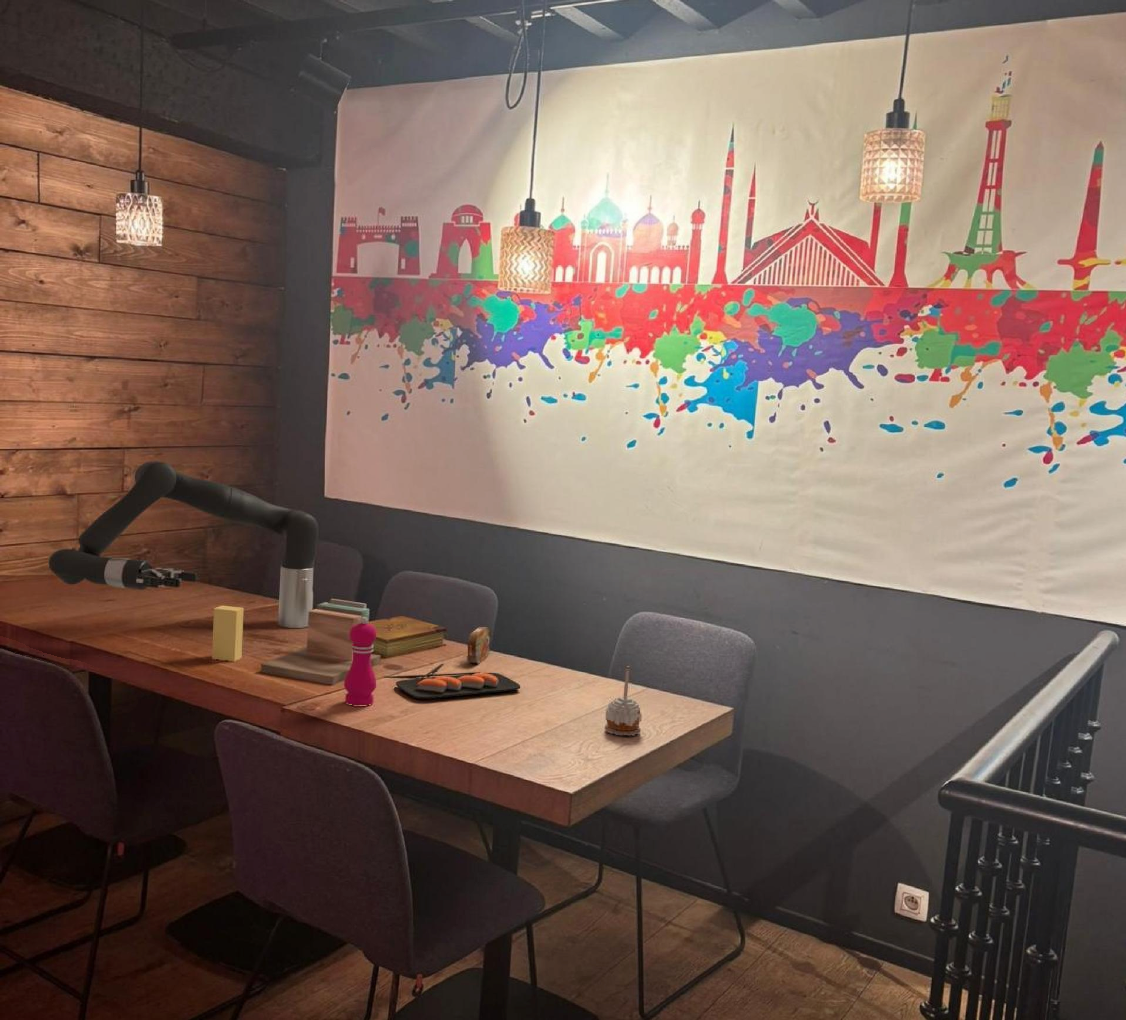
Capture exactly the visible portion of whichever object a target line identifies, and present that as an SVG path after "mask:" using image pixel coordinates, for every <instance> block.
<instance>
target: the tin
mask: <svg viewBox="0 0 1126 1020" xmlns="http://www.w3.org/2000/svg"><path fill="white" fill-rule="evenodd" d="M491 639H492V638H491V629H490V628H489V626H486V627H485V626H479V627H477V628H476V629H474V630H473V631H472V632H470V634H469V636H468V640H467V661H468V662H469V663H471V664H478V665H479V664H481V663H482V662H483V661H484V660H485V659H487V658H488V656H489V655H490V651H491V642H492V641H491Z"/></svg>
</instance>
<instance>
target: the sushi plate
mask: <svg viewBox="0 0 1126 1020" xmlns="http://www.w3.org/2000/svg"><path fill="white" fill-rule="evenodd" d="M444 665H445V664H444V663H441V664H439V665H438V666H436V667H435V668H433V669H432V670H431V671H428V673H426V674H415V675H414V674H412V675H411V674H409V675H391V676H383V677H384V679H387V678H389V679H402V680H396V682H395V685H396V687H398V688H399V689H400V690H402V691H403V692H404V693H406V694H407V695H409V696H411V697H413V698H415V699H438V698H440V697H441V698H451V697H461V696H469V695H470V696H471V695H479V694H481V693H482V694H489V693H491V692H492V693H499V692H500V693H501V692H509V691H510V692H511V691H516V690H520V689H521V685H520V684H519V683H518V682H516V681H514V680H513V679H510V678H509V677H507V676H505V675H503V674H500V673H496V672H480V671H478V672H475V671H474V672H461V673H460V672H456V673H440V674H439V673H437V674H433V673H434V672H436V671H438V670H440V669H441V668H442V667H443V666H444Z"/></svg>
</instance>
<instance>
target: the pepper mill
mask: <svg viewBox="0 0 1126 1020" xmlns="http://www.w3.org/2000/svg"><path fill="white" fill-rule="evenodd" d="M367 622H368V619H367V618H366V617H362V618H361V619H360V623H359V624H356V625H354V626H353V627H352V629H351V630H350V639H351V641H352V642H353V644H352V645H351V647H352V648H351V651H352V652H353V662H352V665H351V667H350V670H349V671H348V673H347V675H346V678H345V680H344V682H343V687H344V689H345V690H346V691H347V693H346V694H345V701H344V703H345V704H346V703H348V704H352V705H369V704H371V705H373V704H372V703H374V695H373V692H374V691H375V689H376V688H377V679H376V675H375V673H374V670H373V667H372V666H371V652H373V647H374V646H373V644H372V643H373V642H374V641H375V639H376V630H375V628H374V627H373V626H372V625H370V624H367ZM348 704H347V705H348ZM369 706H370V705H369Z"/></svg>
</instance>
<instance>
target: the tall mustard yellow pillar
mask: <svg viewBox="0 0 1126 1020" xmlns="http://www.w3.org/2000/svg"><path fill="white" fill-rule="evenodd" d="M244 611H245V610H244V607H238V606H229V605H220V606H217V607H215V608H213V625H212V626H213V627H212V628H213V629H212V648H211V649H212V651H211V652H212V653H211V654H212V655H211V659H212V660H216V659H219V661H225V660H228V661H227V662H234V661H235V662H237V661H238V660H240V659H242V656H243V655H242V654H243V653H242V652H243V651H242V650H243V631H244V630H243V629H244ZM236 660H237V661H236Z"/></svg>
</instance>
